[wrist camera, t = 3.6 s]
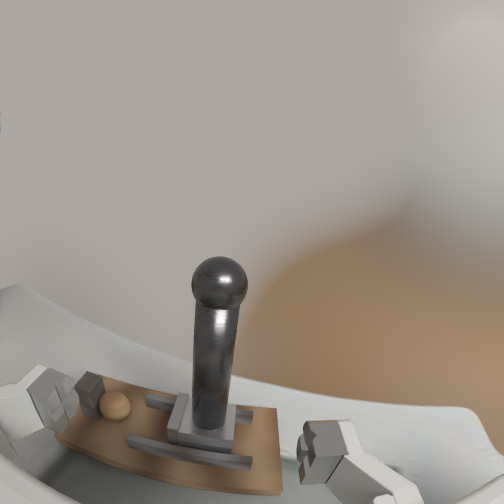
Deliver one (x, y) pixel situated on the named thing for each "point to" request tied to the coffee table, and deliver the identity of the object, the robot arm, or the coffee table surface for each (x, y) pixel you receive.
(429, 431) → the coffee table surface
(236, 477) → the base
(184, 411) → the handle slide
